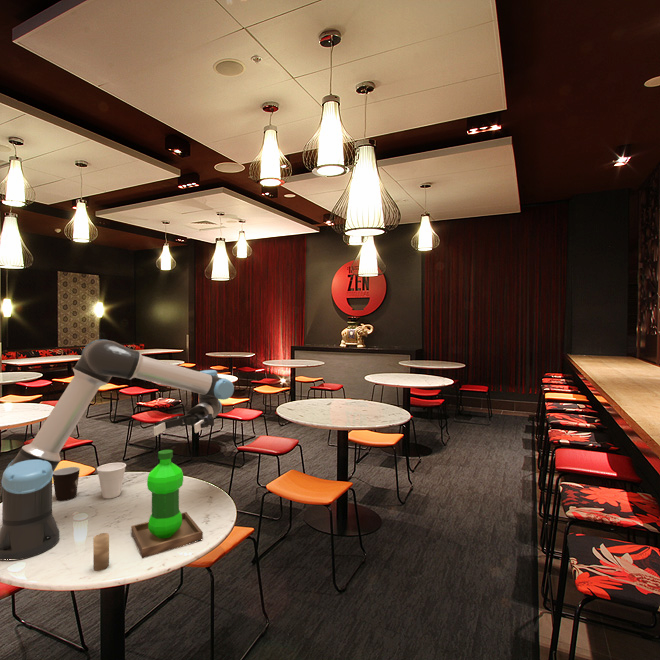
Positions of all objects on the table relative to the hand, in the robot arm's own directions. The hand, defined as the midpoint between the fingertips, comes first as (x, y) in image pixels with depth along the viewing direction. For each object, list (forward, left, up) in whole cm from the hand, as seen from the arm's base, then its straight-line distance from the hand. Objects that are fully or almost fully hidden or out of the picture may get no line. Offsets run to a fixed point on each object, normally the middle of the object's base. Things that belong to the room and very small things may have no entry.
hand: (175, 430), depth 133 cm
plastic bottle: (-5, -8, -30) cm, 31 cm away
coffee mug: (-27, +45, -30) cm, 61 cm away
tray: (-5, -8, -30) cm, 31 cm away
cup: (-14, +36, -30) cm, 49 cm away
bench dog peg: (-23, -15, -30) cm, 40 cm away
